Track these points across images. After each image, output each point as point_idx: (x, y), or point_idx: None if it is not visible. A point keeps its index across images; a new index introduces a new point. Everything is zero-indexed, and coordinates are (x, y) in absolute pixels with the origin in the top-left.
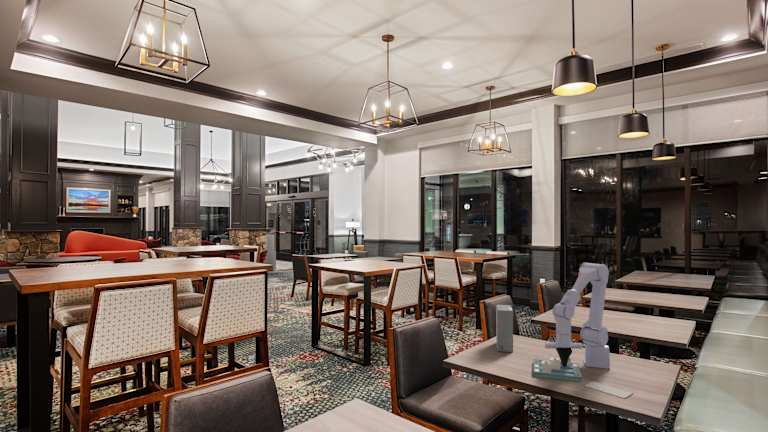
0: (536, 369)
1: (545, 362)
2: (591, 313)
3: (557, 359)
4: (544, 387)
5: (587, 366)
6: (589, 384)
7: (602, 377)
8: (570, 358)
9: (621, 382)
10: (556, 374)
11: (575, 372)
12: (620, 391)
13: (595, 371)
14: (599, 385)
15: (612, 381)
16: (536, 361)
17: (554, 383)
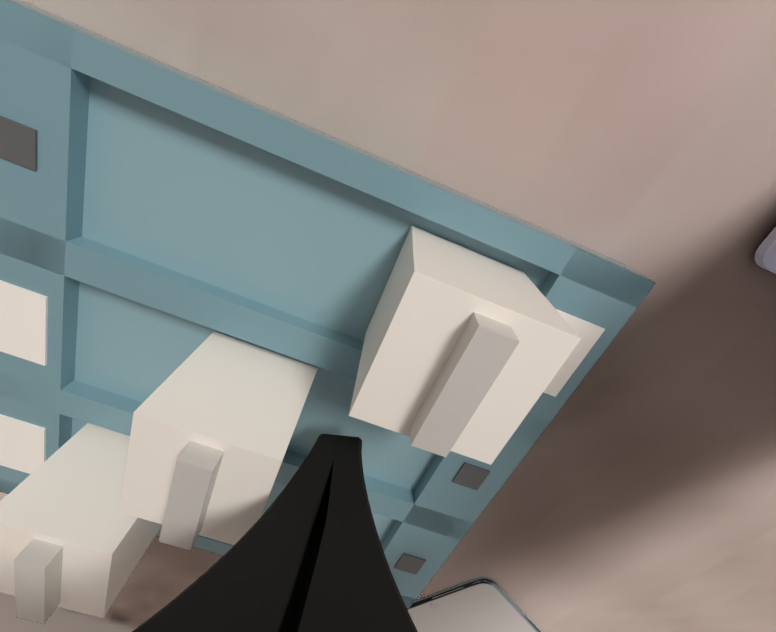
0: (19, 435)
1: (21, 612)
2: None
3: (233, 499)
4: None
5: (768, 269)
6: (427, 614)
7: (643, 525)
8: (486, 457)
9: (703, 603)
10: (207, 545)
11: (413, 526)
12: None
13: (718, 404)
14: (488, 628)
15: (651, 586)
16: (14, 143)
17: (183, 572)
